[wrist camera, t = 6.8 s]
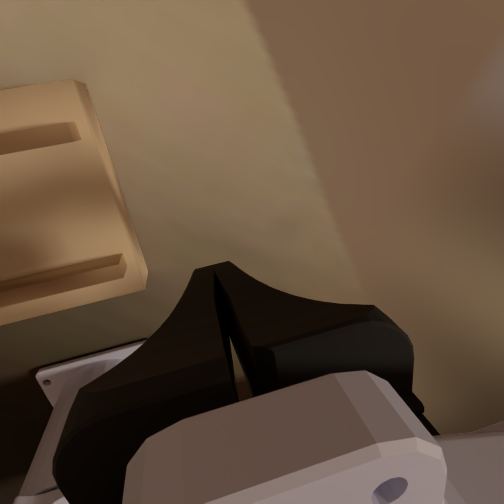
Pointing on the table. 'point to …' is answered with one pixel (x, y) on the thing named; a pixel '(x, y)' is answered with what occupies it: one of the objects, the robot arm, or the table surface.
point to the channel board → (60, 206)
